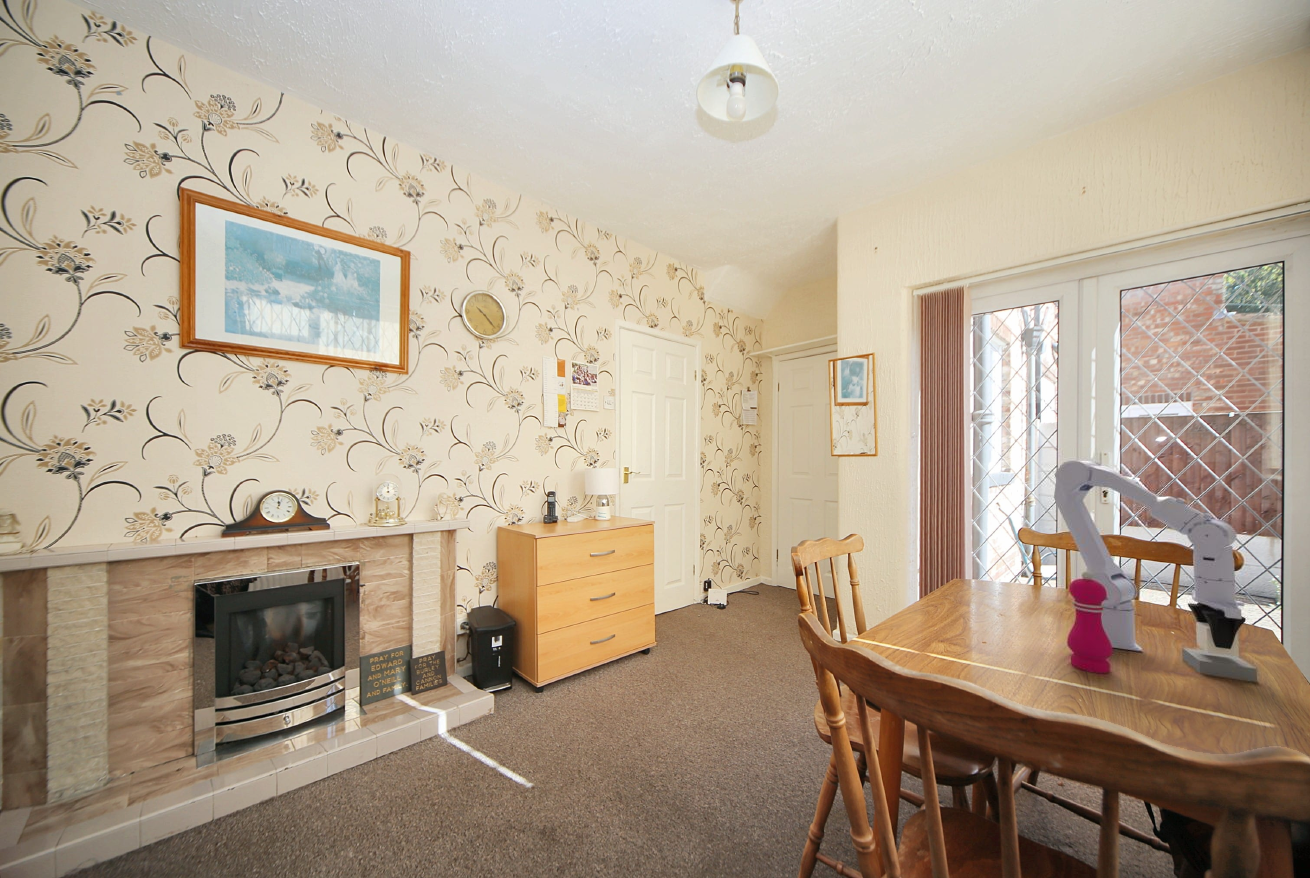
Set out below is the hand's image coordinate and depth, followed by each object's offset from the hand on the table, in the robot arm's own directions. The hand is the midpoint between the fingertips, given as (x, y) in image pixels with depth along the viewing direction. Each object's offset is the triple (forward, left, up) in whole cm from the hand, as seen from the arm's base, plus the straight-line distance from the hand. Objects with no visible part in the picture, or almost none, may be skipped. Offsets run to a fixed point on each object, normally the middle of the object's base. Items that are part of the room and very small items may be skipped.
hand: (1216, 643), depth 103 cm
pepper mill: (-23, -11, -6) cm, 26 cm away
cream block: (0, 0, -1) cm, 1 cm away
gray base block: (0, 0, -6) cm, 6 cm away
